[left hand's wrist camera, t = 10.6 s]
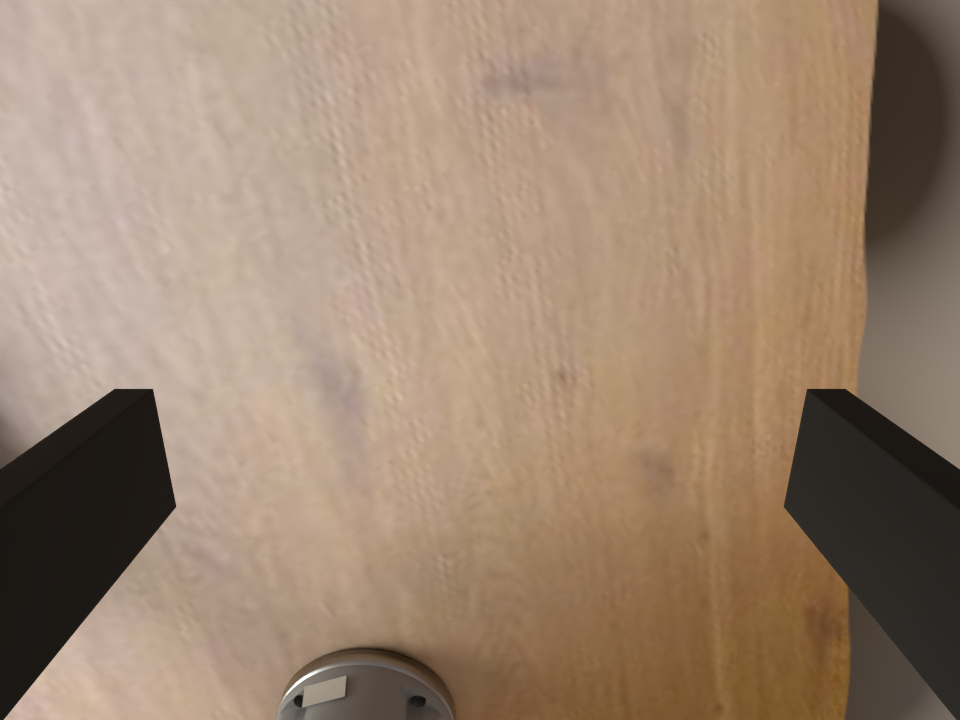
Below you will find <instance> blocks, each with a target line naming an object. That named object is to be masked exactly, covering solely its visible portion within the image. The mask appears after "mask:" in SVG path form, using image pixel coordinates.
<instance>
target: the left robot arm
mask: <svg viewBox="0 0 960 720" xmlns="http://www.w3.org/2000/svg"><path fill="white" fill-rule="evenodd" d="M175 508H176V503H175V498H174V493H173V488H172V483H171V478H170V473H169V468H168V463H167V458H166V453H165V448H164V443H163V438H162V433H161V428H160V423H159V417H158V412H157V407H156V402H155V397H154V392H153V389H114V390H113V391H111V392H110V393H108V394H107V395H105V396H104V397H103V398H101V399H100V400H98V401H97V402H96V403H94V404H93V405H91V406H90V407H88V408H87V409H86V410H84V411H83V412H81V413H80V414H78V415H77V416H76V417H74V418H73V419H71V420H70V421H69V422H67V423H66V424H64V425H63V426H61V427H60V428H59V429H57V430H56V431H54V432H53V433H51V434H50V435H49V436H47V437H46V438H44V439H43V440H42V441H40V442H39V443H37V444H36V445H34V446H33V447H32V448H30V449H29V450H27V451H26V452H25V453H23V454H22V455H20V456H19V457H17V458H16V459H15V460H13V461H12V462H10V463H9V464H7V465H6V466H5V467H3V468H2V469H0V720H4V719H5V717H6V716H7V715H8V714H9V712H10V711H11V710H12V709H13V707H14V706H15V705H16V704H17V702H18V701H19V700H20V699H21V698H22V696H23V695H24V694H25V693H26V691H27V690H28V689H29V688H30V686H31V685H32V684H33V683H34V682H35V680H36V679H37V678H38V677H39V675H40V674H41V673H42V672H43V670H44V669H45V668H46V667H47V665H48V664H49V663H50V662H51V661H52V659H53V658H54V657H55V656H56V654H57V653H58V652H59V651H60V649H61V648H62V647H63V646H64V645H65V643H66V642H67V641H68V640H69V638H70V637H71V636H72V635H73V633H74V632H75V631H76V630H77V628H78V627H79V626H80V625H81V624H82V622H83V621H84V620H85V619H86V617H87V616H88V615H89V614H90V612H91V611H92V610H93V609H94V607H95V606H96V605H97V604H98V603H99V601H100V600H101V599H102V598H103V596H104V595H105V594H106V593H107V591H108V590H109V589H110V588H111V587H112V585H113V584H114V583H115V582H116V580H117V579H118V578H119V577H120V575H121V574H122V573H123V572H124V570H125V569H126V568H127V567H128V566H129V564H130V563H131V562H132V561H133V559H134V558H135V557H136V556H137V554H138V553H139V552H140V551H141V550H142V548H143V547H144V546H145V545H146V543H147V542H148V541H149V540H150V538H151V537H152V536H153V535H154V533H155V532H156V531H157V530H158V529H159V527H160V526H161V525H162V524H163V522H164V521H165V520H166V519H167V517H168V516H169V515H170V514H171V512H172V511H173V510H174V509H175ZM784 508H785V509H786V510H787V511H788V513H789V514H790V515H791V516H792V517H793V519H794V520H795V521H796V522H797V524H798V525H799V526H800V527H801V529H802V530H803V531H804V532H805V533H806V535H807V536H808V537H809V538H810V540H811V541H812V542H813V543H814V545H815V546H816V547H817V548H818V550H819V551H820V552H821V553H822V554H823V556H824V557H825V558H826V559H827V561H828V562H829V563H830V564H831V566H832V567H833V568H834V569H835V570H836V572H837V573H838V574H839V575H840V577H841V578H842V579H843V580H844V582H845V583H846V584H847V585H848V587H849V588H850V589H851V590H852V591H853V593H854V594H855V595H856V596H857V598H858V599H859V600H860V601H861V603H862V604H863V605H864V606H865V607H866V609H867V610H868V611H869V612H870V614H871V615H872V616H873V617H874V619H875V620H876V621H877V622H878V623H879V625H880V626H881V627H882V628H883V630H884V631H885V632H886V633H887V635H888V636H889V637H890V638H891V640H892V641H893V642H894V643H895V644H896V646H897V647H898V648H899V649H900V651H901V652H902V653H903V654H904V656H905V657H906V658H907V659H908V661H909V662H910V663H911V664H912V665H913V667H914V668H915V669H916V670H917V672H918V673H919V674H920V675H921V677H922V678H923V679H924V680H925V681H926V683H927V684H928V685H929V686H930V688H931V689H932V690H933V691H934V693H935V694H936V695H937V696H938V698H939V699H940V700H941V701H942V702H943V704H944V705H945V706H946V707H947V709H948V710H949V711H950V712H951V714H952V715H953V716H954V717H955V718H956V720H960V469H958V468H957V467H955V466H954V465H953V464H951V463H950V462H948V461H947V460H945V459H944V458H943V457H941V456H940V455H938V454H937V453H935V452H934V451H933V450H931V449H930V448H928V447H927V446H926V445H924V444H923V443H921V442H920V441H918V440H917V439H916V438H914V437H913V436H911V435H910V434H908V433H907V432H906V431H904V430H903V429H901V428H900V427H898V426H897V425H896V424H894V423H893V422H891V421H890V420H889V419H887V418H886V417H884V416H883V415H881V414H880V413H879V412H877V411H876V410H874V409H873V408H872V407H870V406H869V405H867V404H866V403H864V402H863V401H862V400H860V399H859V398H857V397H856V396H855V395H853V394H852V393H850V392H849V391H847V390H846V389H807V392H806V397H805V402H804V407H803V412H802V417H801V423H800V428H799V433H798V438H797V443H796V448H795V453H794V458H793V463H792V468H791V473H790V478H789V483H788V488H787V493H786V498H785V503H784ZM275 720H456V710H455V706H454V702H453V700H452V697H451V695H450V693H449V691H448V690H447V688H446V687H445V685H444V684H443V683H442V682H441V680H440V679H439V678H438V677H437V676H436V675H435V674H433V673H432V672H431V671H430V670H428V669H427V668H425V667H424V666H422V665H421V664H419V663H417V662H415V661H413V660H411V659H409V658H407V657H404V656H401V655H398V654H395V653H391V652H386V651H381V650H373V649H353V650H345V651H340V652H335V653H332V654H328V655H325V656H323V657H320V658H318V659H316V660H314V661H312V662H311V663H309V664H307V665H306V666H305V667H303V668H302V669H301V670H300V671H299V672H297V673H296V674H295V675H294V677H293V678H292V679H291V680H290V682H289V683H288V685H287V687H286V689H285V691H284V693H283V696H282V699H281V702H280V705H279V707H278V711H277V714H276V718H275Z"/></svg>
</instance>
